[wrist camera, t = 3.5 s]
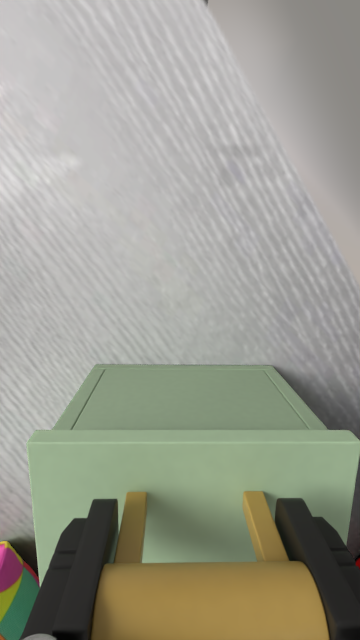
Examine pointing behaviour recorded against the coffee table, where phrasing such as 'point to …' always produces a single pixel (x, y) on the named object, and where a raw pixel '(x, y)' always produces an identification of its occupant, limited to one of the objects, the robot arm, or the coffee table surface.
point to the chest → (186, 399)
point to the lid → (196, 525)
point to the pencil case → (15, 592)
